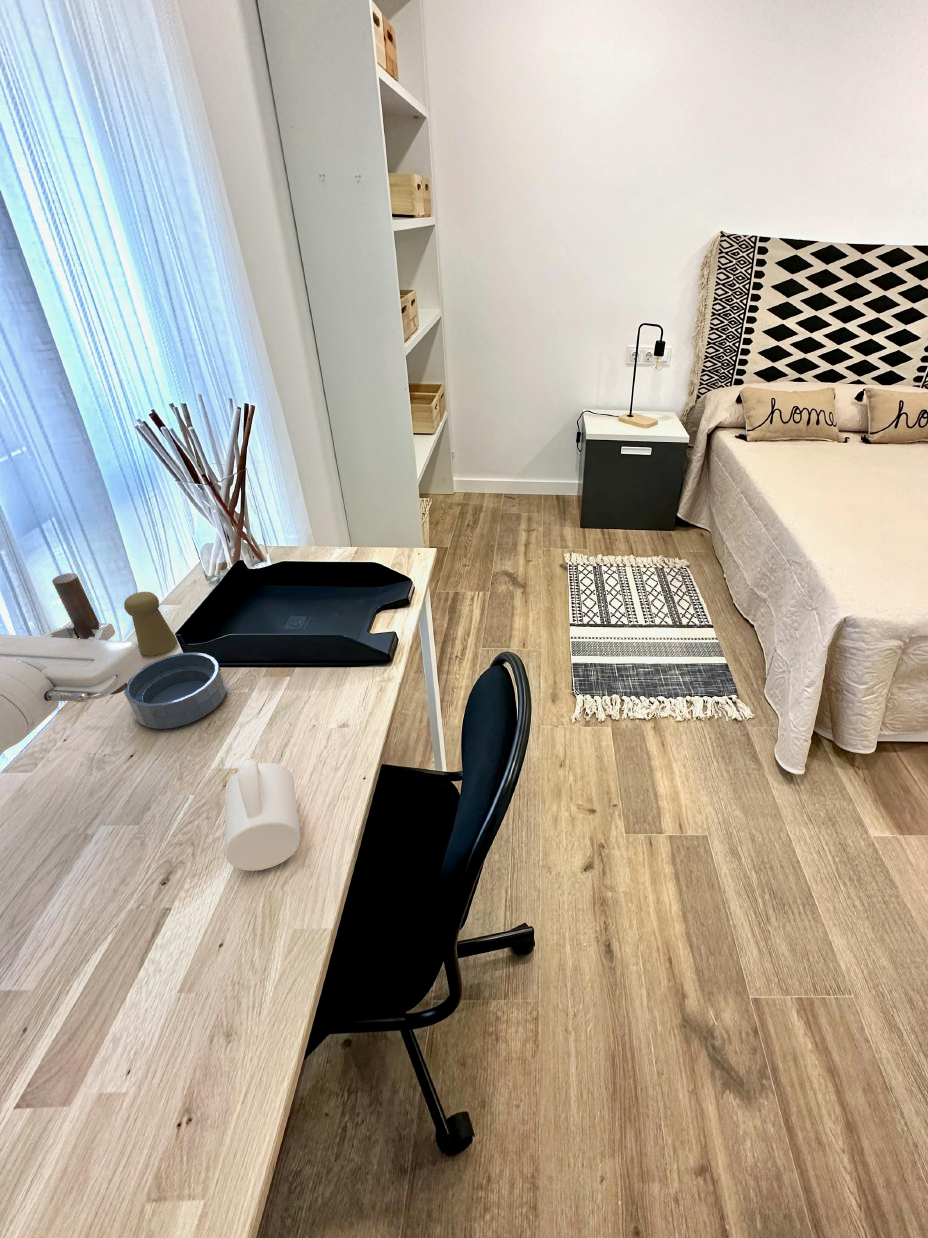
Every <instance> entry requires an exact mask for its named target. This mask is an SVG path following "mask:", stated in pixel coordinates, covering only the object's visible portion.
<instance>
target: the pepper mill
mask: <svg viewBox="0 0 928 1238" xmlns="http://www.w3.org/2000/svg"><path fill="white" fill-rule="evenodd" d="M123 607H124V608H123V609H124V610H125V612H126V613H127V614H128V615H129V616H130V617H131V618H132V619H131V620H132V622H133V627H134V630H135V631H134V632H135V636H136V641H137V644H138V645H137V646H138V649H139V651H140V653H141V655H142V656H146V657H153V656H154V657H155V656H159V655H160V656H161V655H163V654H165V653H168V652H170V651H171V650H173V649H174V648H175V647H176V646H177V644H178V640H177V638H176V636H175V634H174V633H173V631H172V629H171V627H170V626H169V624H168V622H167V621H166V619H165V617H164V616H163V614H162V613H161V611H160V610H159V608H160V599H159V597H158V596H157V595H156V594H154V593H153V592H151V591H140V592H135V593H133V594H131V595H129V596H127V598H125V600H124V602H123Z"/></svg>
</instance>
